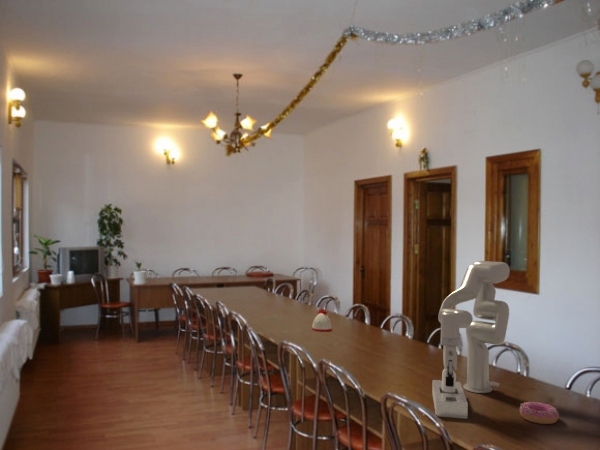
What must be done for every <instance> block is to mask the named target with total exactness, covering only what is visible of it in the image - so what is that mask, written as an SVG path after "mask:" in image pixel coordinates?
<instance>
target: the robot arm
mask: <svg viewBox="0 0 600 450" xmlns="http://www.w3.org/2000/svg"><path fill="white" fill-rule="evenodd" d="M510 269H511V268H510V266H509V264H508V263H506V262H505V261H504V262H503V261H490V260H478V261H474V262H473V263H471V264H470V265H469V266H467V269H466V271H465V273H464V275H463V278H462V281H461V283H460V285H459V288H458V289H456V290H454V291H452V292H451V293H450V294H449V295H448V296H446V297H445V299H444V300H443V301H442V303H441V305H440V307H439V308H440V309H439V312H438V317H437V318H438V322H439V323H440V345H441V346H443V348H442V350H443V353H442V354H443V355H442V359H443V360H442V361H443V367H444V369H446V386H449V387H453V386H454V377H453V370H454V371H457V370H458V365H457V364H458V351H457V350H458V348H457V347H460V329H465V335H466V342H467V343H466V344H467V345H466V346H467V354H466V355H467V360H466V361H467V362H466V363H467V366H466V383H464V384H463V387H462V389H463V390H466V391H468V392H471V393H476V394H487V393H491V392H492V391H493V388H500V382H495V381H490V380H489V379H490V378H489V372H490V367H489V365H490V350H489V349H488V347H487V345H486V344H490V345H496V346H500V345H503V344H504V342H505V340H506V334H507V329H508V324H509V318H510V307H509V305H508V303H507V302H505V301H503V300H496V299H495V298H496V294H497V293H496V287H495V286H494V284H499V283H502V282H504V281H506V280H507V279H508V278H509V276H510V271H511V270H510ZM473 300H474V304H473V311H472V313H473V314H472V313H471V312H469V311H468V310H463V309H459V308H458V309H456V308H454V307H455V306H457V305H459V304H462V303H466V302H470V301H473ZM473 316H474V317H475V318H476V319H480V320H473V318H474V317H473ZM483 320H487V321H483ZM488 321H489V322H488ZM490 321H493V322H490ZM448 368H449V369H448Z"/></svg>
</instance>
